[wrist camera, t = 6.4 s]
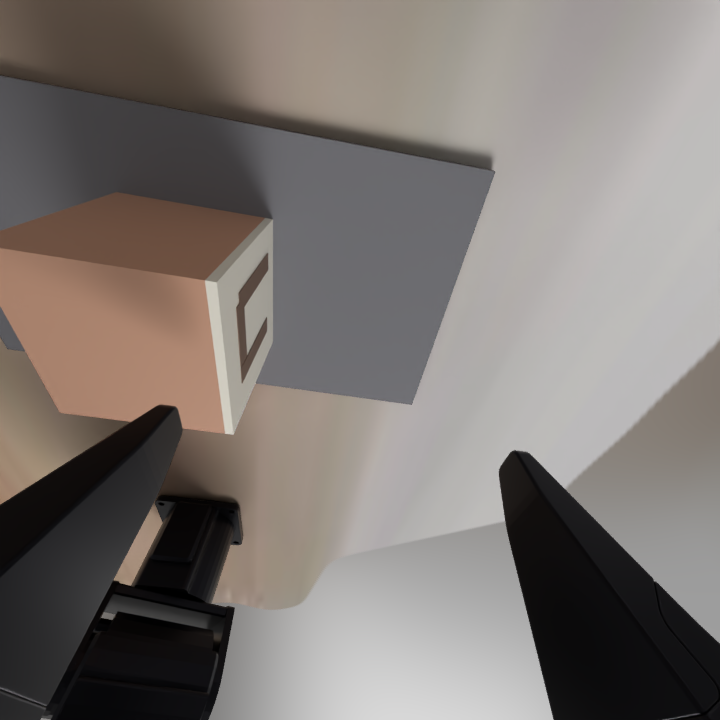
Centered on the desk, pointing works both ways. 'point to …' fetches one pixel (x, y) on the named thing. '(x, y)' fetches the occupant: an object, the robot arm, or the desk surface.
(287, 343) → the mat
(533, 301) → the desk surface
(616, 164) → the desk surface
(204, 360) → the cube
